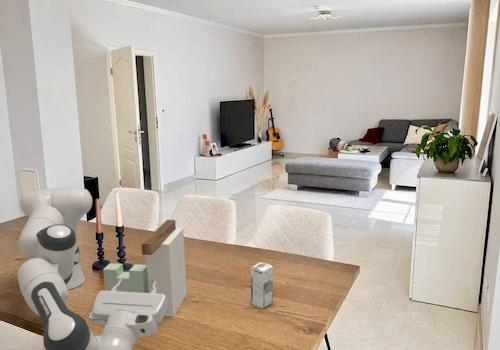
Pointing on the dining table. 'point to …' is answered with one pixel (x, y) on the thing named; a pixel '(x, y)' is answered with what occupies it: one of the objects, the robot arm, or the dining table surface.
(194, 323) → the dining table surface
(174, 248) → the white stand
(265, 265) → the syrup box
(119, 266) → the sage notched plate
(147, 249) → the walnut bar
